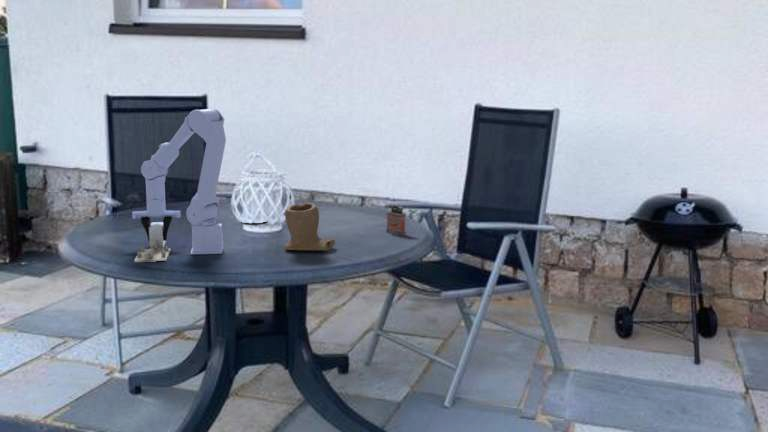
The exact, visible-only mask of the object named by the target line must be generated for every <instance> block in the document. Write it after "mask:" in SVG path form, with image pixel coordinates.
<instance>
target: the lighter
mask: <svg viewBox="0 0 768 432" xmlns="http://www.w3.org/2000/svg"><path fill="white" fill-rule="evenodd" d="M388 209H391V210H386V230H385V232H386V233H387V234H391V235H394V236H395V235H396V236H406V215H407V213H406V212H403V211H404V207H403V206H400V204H397V205H395V204H392V203H390V204H389V203H388Z"/></svg>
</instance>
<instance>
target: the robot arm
mask: <svg viewBox="0 0 768 432" xmlns="http://www.w3.org/2000/svg"><path fill="white" fill-rule="evenodd" d="M224 124H225V117H224V116H223V115H222V114H221V112H220V111H219V110H218V109H217V108H215V107H210V108H207V109H206V108H205V109H204V108H203V109H193V110H192V111H190V112H189V114H188V115H187V116H186V117H184V122H183V123H182V124H181V126H180V127H179V128H178V130H177V131H176V133H175V134H174V136H173V137H172V138H171V140H170V141H169V142H167V141H166V142H164V143H160V144H159V146H158V150H157V151H156V152H155V153H154V154H153V155H151V156H150V160H149V159H148V160H145V161H143V163H142V165H141V167H140V172H141V174H142V177H144V179H145V198H146V199H145V200H146V210H141V211H140V210H139V211H137V210H136V211H132V212H131V215H132V219H133V220H134V219H140V224H141V225H142V226H143V228H144V230H145V234H146V235H147V240H148V242H150V241H149V227H150V225H151V223H152V222H151V220H152V219H155V218H156V219H158V218H163V219H162V222H163V225H164V241H166V242H167V239H168V231H169V228H170V226H171V223H172V220H173V218H177V219H178V218H179V219H180V218H181V210H167V209H166V206H167V205H166V187H165V186H166V185H165V182H166V177H167V175H168V172H169V167H170V166H171V165H172V164H173V163H174V162H175V161H176V159H177V158H178V157H179V155H180V148H181V147H183V145H184V144H185V143H187V141H188V140H189V139H190V138H191V137H192V136H193V135H194V134H195V133H196V134H197V135H198V136H199V137H201V138H202V139H203V141H204V142H205V149H204V154H203V160H202V164H201V165H202V166H201V171H200V174H199V181H198V185H197V192H196V193H195V195H194V196H192V198H191V201H190V205H189V206H188V207H187V208H186V211H185V215H186V218H187V221H189V223H190V226H191V242H192V243H191V244H192V245H191V251H190V254H189V255H218V254H219V255H220V254H223V250H224V249H223V248H224V246H225V245H224V244H225V242H224V241H223V240H224V238H223V223H221V222H219V223H217V219H218V218H219V215H220V211H221V209H220V198H219V197H218V196H217V194H216V193H217V189H218V188H217V187H218V184H219V183H218V182H219V178H220V172H221V167H222V163H223V158H224V154H225V148H226V147H225V145H226V141H227V139H226V133H225V127H224Z"/></svg>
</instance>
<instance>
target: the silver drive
mask: <svg viewBox="0 0 768 432" xmlns="http://www.w3.org/2000/svg"><path fill="white" fill-rule="evenodd" d="M148 242H149V249H153V245H154V244H157V249H164V245H165V246H166V244H165V243H167V240H166V241H164V225H163V221H156V222H155V221H154V222H153V221H152V222H151V225H150V227H149V241H148Z"/></svg>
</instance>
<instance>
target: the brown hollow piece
mask: <svg viewBox="0 0 768 432" xmlns="http://www.w3.org/2000/svg"><path fill="white" fill-rule="evenodd" d="M284 217H285V223H286V227H287V230H288V231H289V233H290V237H291V238H290V241H288V242H286V243H285V244H284V248H285V249H286V250H289V251H301V252H304V251H306V252H329V251H330V250H331V249H332V248H333V247H334V245H335V244H336V239H334V238H333V239H332V238H331V239H330V238H322V237H321V238H320V237H319V235H318V231H319V221H320V212H319V208H318V207H317V205H315V204H314V203H311V202H305V203H302V204H298V203H296V204H295V203H294V204H291V205H290V206H288V207H287V208H286V209H285V211H284Z"/></svg>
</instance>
